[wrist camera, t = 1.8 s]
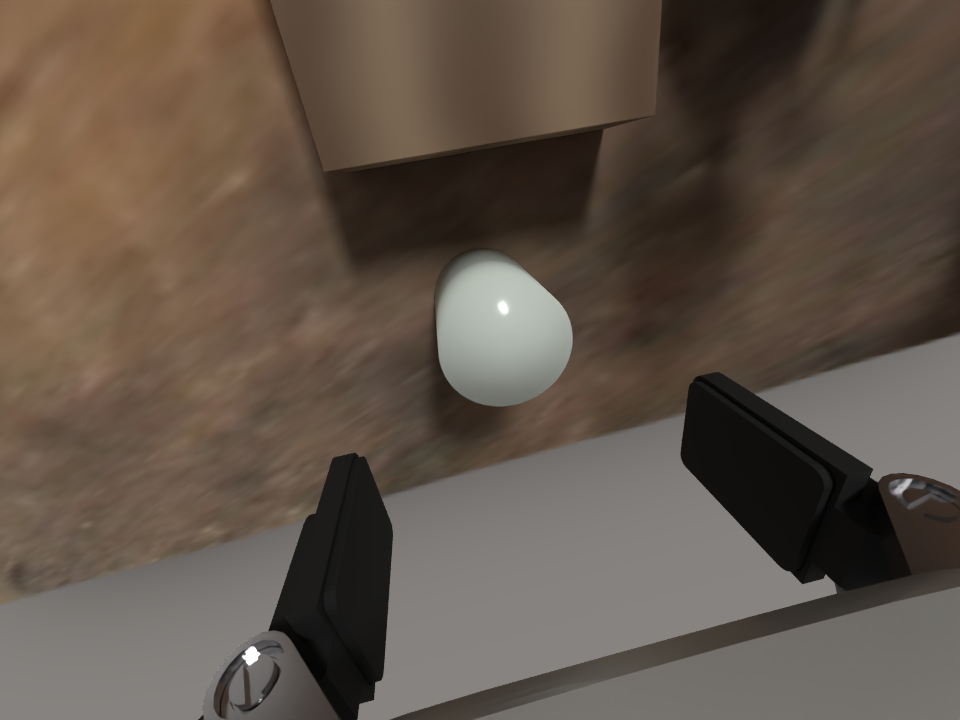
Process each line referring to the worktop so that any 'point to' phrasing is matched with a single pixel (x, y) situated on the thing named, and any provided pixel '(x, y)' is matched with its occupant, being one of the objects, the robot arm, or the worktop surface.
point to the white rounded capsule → (498, 329)
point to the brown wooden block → (465, 73)
